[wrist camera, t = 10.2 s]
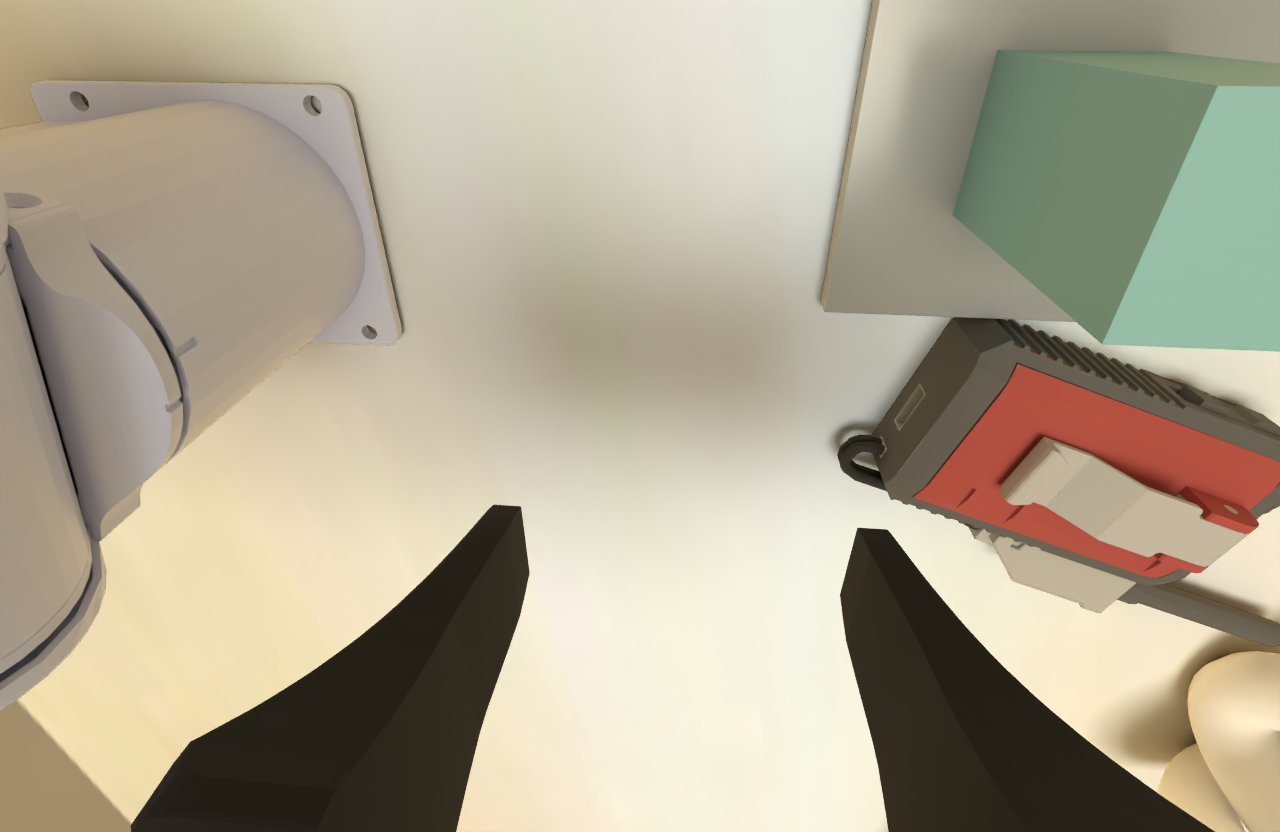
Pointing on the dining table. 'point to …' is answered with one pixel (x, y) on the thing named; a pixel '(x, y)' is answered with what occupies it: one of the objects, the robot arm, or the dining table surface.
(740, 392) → the dining table surface
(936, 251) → the ceramic tile
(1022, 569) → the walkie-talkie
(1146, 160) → the green block
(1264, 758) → the cream rounded sculpture
